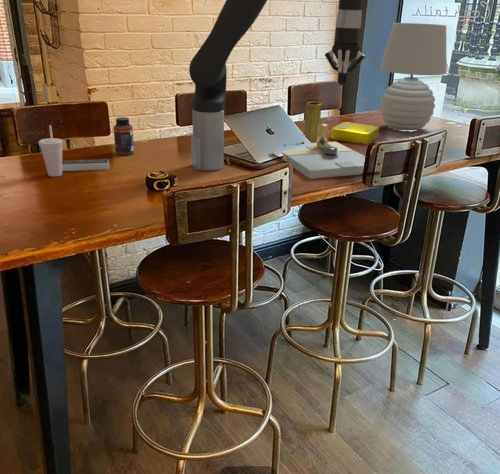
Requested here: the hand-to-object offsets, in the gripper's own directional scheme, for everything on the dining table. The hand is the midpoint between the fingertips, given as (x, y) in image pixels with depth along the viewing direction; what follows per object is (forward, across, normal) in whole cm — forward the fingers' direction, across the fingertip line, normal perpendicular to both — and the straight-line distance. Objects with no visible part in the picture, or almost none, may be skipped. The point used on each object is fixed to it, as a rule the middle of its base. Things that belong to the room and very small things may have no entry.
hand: (342, 84), depth 166 cm
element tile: (+24, 0, -27) cm, 36 cm away
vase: (+23, +12, -11) cm, 28 cm away
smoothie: (+23, +64, +61) cm, 92 cm away
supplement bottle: (+23, +61, +34) cm, 73 cm away
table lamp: (+23, -14, -52) cm, 59 cm away
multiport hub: (+24, +62, +53) cm, 85 cm away
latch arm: (+20, +1, +7) cm, 21 cm away
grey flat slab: (+23, 0, +11) cm, 25 cm away
